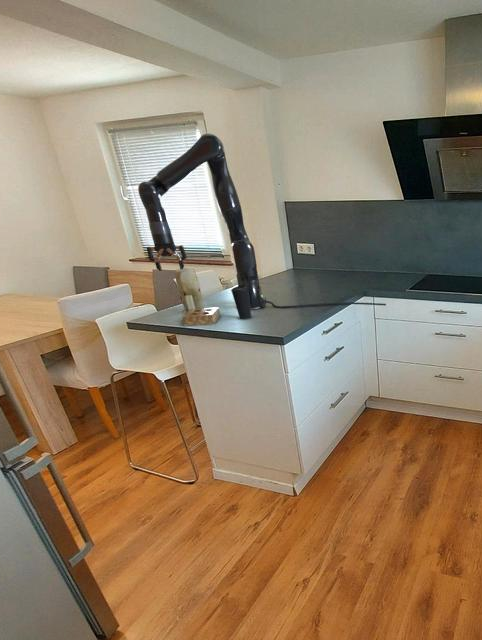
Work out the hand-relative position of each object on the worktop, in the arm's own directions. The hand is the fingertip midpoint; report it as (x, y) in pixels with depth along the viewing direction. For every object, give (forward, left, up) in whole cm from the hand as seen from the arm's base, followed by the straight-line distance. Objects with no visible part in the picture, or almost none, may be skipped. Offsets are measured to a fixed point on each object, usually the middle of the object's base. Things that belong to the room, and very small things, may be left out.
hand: (171, 269), depth 172 cm
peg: (-5, +2, -21) cm, 22 cm away
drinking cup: (-30, +13, -21) cm, 39 cm away
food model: (-3, -7, -21) cm, 22 cm away
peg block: (-12, +13, -21) cm, 27 cm away
